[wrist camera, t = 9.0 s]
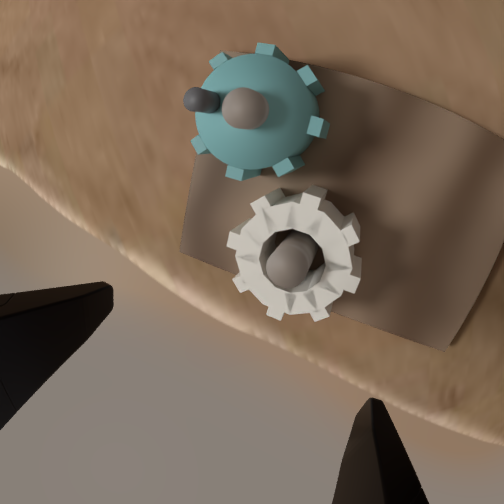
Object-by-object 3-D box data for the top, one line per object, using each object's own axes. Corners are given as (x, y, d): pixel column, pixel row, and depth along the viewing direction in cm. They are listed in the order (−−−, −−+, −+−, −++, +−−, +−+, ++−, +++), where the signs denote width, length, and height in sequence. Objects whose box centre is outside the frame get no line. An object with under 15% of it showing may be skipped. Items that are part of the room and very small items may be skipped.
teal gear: (343, 72, 14) (336, 48, 10) (311, 191, 17) (294, 206, 13) (226, 51, 16) (187, 29, 12) (200, 158, 19) (157, 165, 15)
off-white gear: (338, 313, 19) (332, 340, 16) (235, 274, 21) (216, 294, 18) (380, 208, 16) (383, 220, 13) (261, 168, 18) (242, 173, 15)
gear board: (524, 155, 12) (565, 162, 8) (442, 343, 18) (454, 391, 14) (226, 54, 17) (186, 32, 12) (186, 247, 23) (145, 272, 18)
